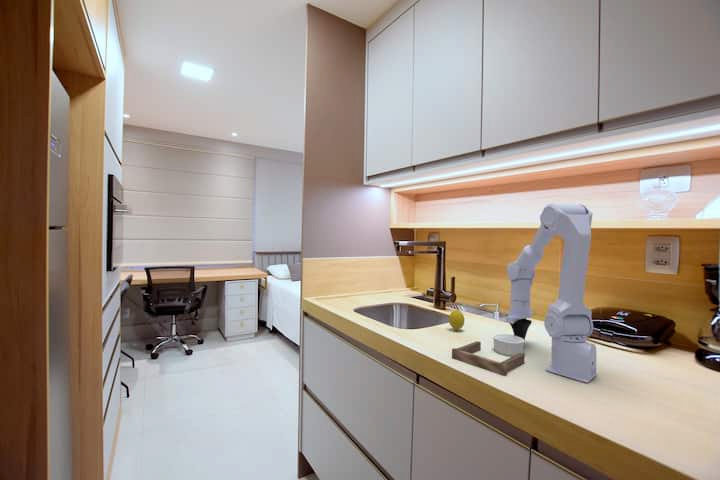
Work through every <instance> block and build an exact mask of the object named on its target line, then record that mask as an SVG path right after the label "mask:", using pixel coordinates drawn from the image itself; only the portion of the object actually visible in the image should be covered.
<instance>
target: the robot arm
mask: <svg viewBox="0 0 720 480" xmlns="http://www.w3.org/2000/svg"><path fill="white" fill-rule="evenodd" d="M539 221H540V225H539V226H538V230H537V232H536V233H535V235H534V237H533V239H532V242H531V243H530V244H529V245H525V246H524V247H523V249H522V251H521V252H520V254H519V256H518V257H517V258H516V260H514V261H513V262H510V263H508V265H507V266H506V274H507V275H506V276H507V278H508V279H509V281H510V304H509V305H510V307H509V308H510V309H509V311H506V314H507V316H506V317H505V318H506V323H508V324H509V325H510V327H511V329H512V333H513V335H514V336H518V337H521V338H523V339H524V340H525V339H526V337H527V333H528V330H529V327H530V326H531V325H532V320H531V319H530V318H533V316H534V311H532V310H531V287H532V286H533V281H534V279H535V277H536V272H535V269H536V268H537V266H538V265H539V263H540V262H541V261H542V259H543V257H544V252H543V251H544V249H545V248H546V247H547V246H548V244H549V243H550V242H551V241H552V239H553V238H554V237H555V236H556V235H557V236H559V237H561V238H562V240H563V241H564V243H563V250H562V259H561V270H560V276H559V277H560V278H559V284H558V285H559V286H558V294H557V299H556V300H555V301H553V302H552V303H551V304H550V305H549V306H548V309H547V313H546V315H545V317H544V321H543V325H544V329H545V330H546V332H547V334H548V336H549V337H550V338H551V364H550V365H548V367H546V368H545V371H546V372H550V373H551V374H552V373H553V374H556V375H559V376H562V377H567V378H570V379H573V380H575V381H576V380H577V381H580V382H583V383H589V382H591V381H592V380H593V379H594V378H595V377H596V376H597V375H598V373H597V346H596V344H594V343H592V342H588V337H589V336H591V335H592V333H593V331H594V323H593V319H592V316H593V315H592V313H593V311H592V310H591V309H590V308H588V307H587V306H586V305H585V304H584V303H583V302H584V296H585V288H586V282H587V281H586V279H587V275H588V274H587V272H588V267H589V266H588V264H589V258H590V249H591V241H592V232H591V231H592V230H591V228H592V222H593V212H592V210H590V209H589V208H588V207H587V206H586V205H585V204H582V203H581V204H562V203H561V204H560V203H559V204H557V203H556V204H555V203H548V204H546V206H544V208H543V209H542V212H541V213H540V215H539Z"/></svg>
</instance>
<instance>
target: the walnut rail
mask: <svg viewBox="0 0 720 480" xmlns="http://www.w3.org/2000/svg"><path fill="white" fill-rule="evenodd" d="M481 345H482V343H481V341H478V340H476V341H474V342H471V343H468V344H466V345H463V346H460V347H458V348H451V358H452V359H455V360H457V361H461V362H463V363H467V364H470V365H472V366H475V367H478V368H481V369H484V370H487V371H490V372H492V373H496V374H498V375H502V376H503V377H504V376H507V375H508V372H511V371H513V370H514V369H516V368H518V367H519V366H522V365H524V364H525V353H519V354H517V355H515V356H510V357H509V358H507V359H504V360H503V361H501V362H499V361H496V360H493V359H490V358H487V357H483V356H480V355H477V354H474V352H475V353H477V352H480V351H481V350H482V346H481ZM479 350H480V351H479ZM476 351H477V352H476Z"/></svg>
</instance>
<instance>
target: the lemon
mask: <svg viewBox="0 0 720 480" xmlns="http://www.w3.org/2000/svg"><path fill="white" fill-rule="evenodd" d="M448 321H449V325H450V327H451V328H452V329H454V330H455V331H459V329H462V328H463V327H464V326H465V325H464V324H465V316H464V313H463V312H462V311H460V310H459V309H454V310H453V311H451V312H450V314H449V318H448Z"/></svg>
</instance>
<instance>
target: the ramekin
mask: <svg viewBox="0 0 720 480" xmlns="http://www.w3.org/2000/svg"><path fill="white" fill-rule="evenodd" d="M492 339H493V348H494V351H495V352H496V353H498V354H500V355H503V356H509V357H513V356H515V355H517V354H519V353H522V354H524V353H523V352H524V344H525V340H524V339H523V338H521V337H518V336H514V334H513V335H512V334H509V333H508V334H507V333H497V334H496V333H495V334H493V335H492Z"/></svg>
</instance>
